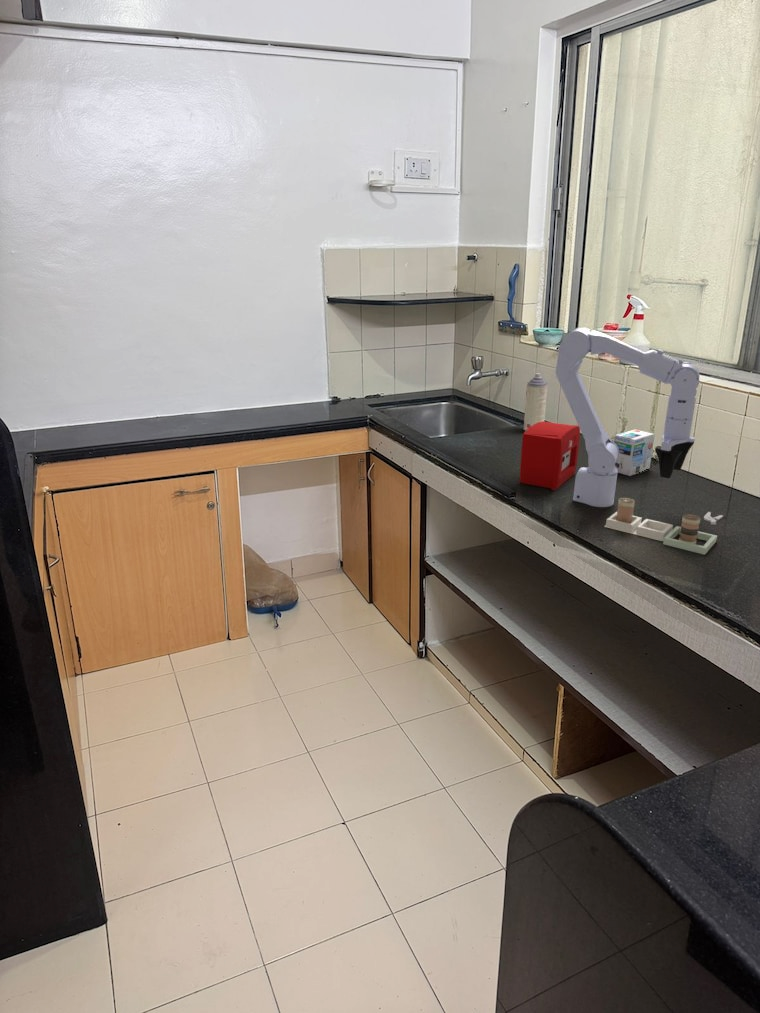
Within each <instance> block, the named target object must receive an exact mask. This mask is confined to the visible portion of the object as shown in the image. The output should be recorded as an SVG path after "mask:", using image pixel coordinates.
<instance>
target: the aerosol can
mask: <svg viewBox="0 0 760 1013" xmlns="http://www.w3.org/2000/svg"><path fill="white" fill-rule="evenodd" d="M541 375H542V374H541V373H540V372H539V373H537V372H536V373H535V374H534V376H533V377H532V378H530V380H529V381H528V382H527V384H526V390H525V391H526V394H525V405H524V406H525V407H524V419H523V420H524V421H523V430H525V431H526V430H527V429H528V428H530V427H531V426H532V425H534V424H536V423H538V422H545V417H546V407H547V396H548V395H547V394H548V382H546V381H545V379H543V377H542V376H541Z"/></svg>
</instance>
